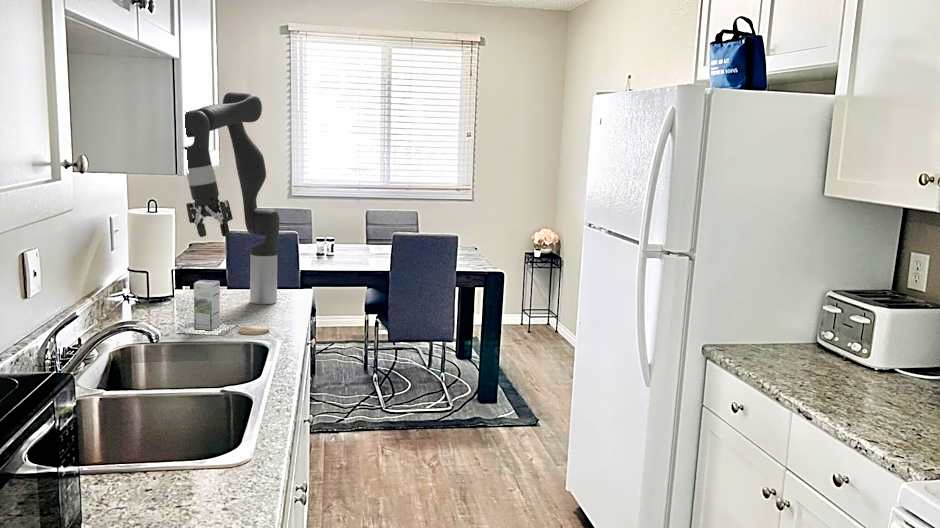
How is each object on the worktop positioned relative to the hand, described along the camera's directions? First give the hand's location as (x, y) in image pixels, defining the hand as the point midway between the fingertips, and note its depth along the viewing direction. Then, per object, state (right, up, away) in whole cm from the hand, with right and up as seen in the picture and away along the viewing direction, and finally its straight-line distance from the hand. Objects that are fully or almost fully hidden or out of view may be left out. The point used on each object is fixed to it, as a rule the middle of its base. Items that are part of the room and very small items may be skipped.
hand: (214, 236), depth 216 cm
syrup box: (-4, -28, +5) cm, 29 cm away
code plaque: (-4, -28, +5) cm, 29 cm away
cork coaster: (+10, -28, +5) cm, 31 cm away
